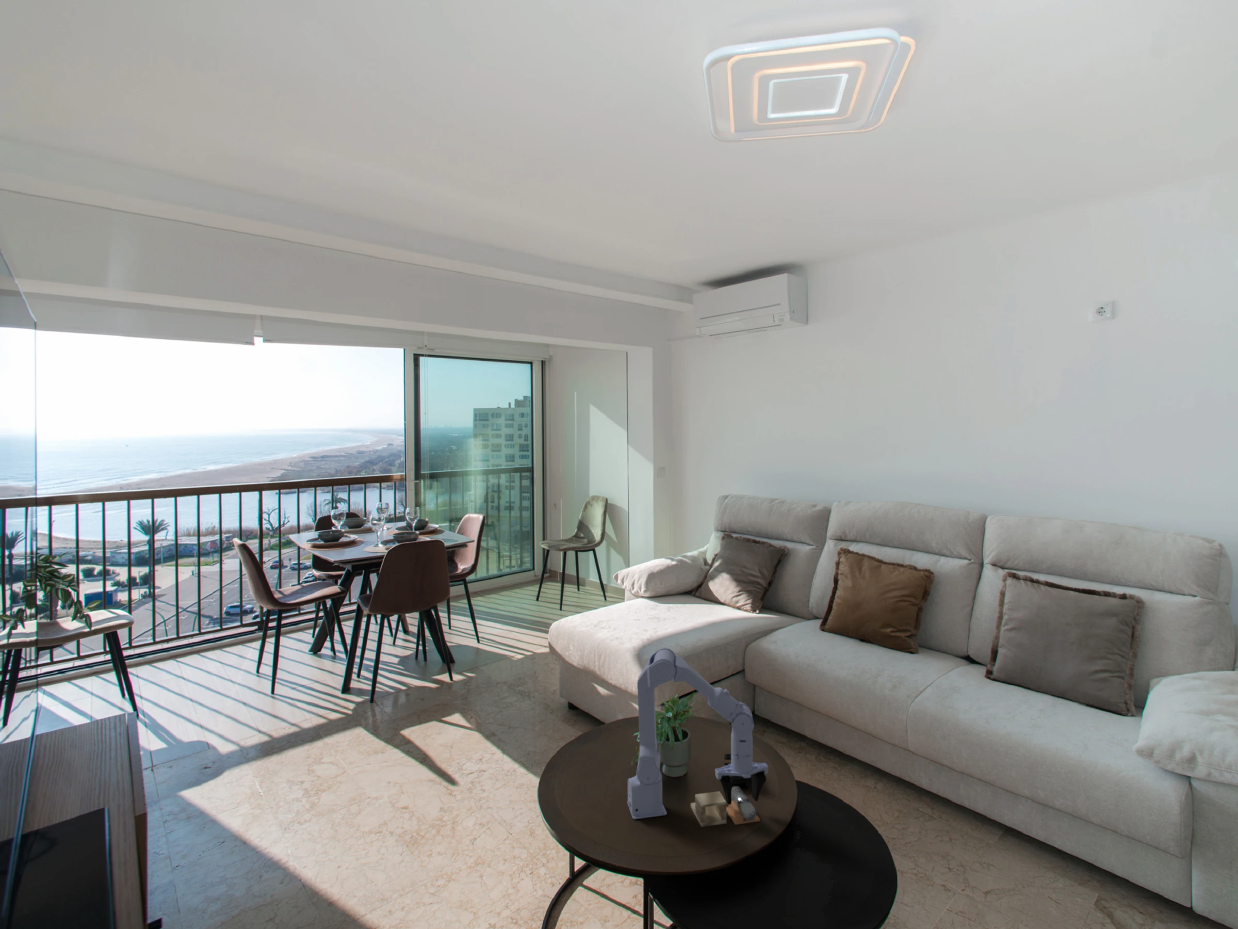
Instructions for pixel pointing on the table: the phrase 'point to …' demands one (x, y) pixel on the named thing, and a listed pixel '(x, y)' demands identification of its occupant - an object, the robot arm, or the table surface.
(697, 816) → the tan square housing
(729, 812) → the cradle
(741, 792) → the axle
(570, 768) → the table surface
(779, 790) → the table surface
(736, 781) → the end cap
